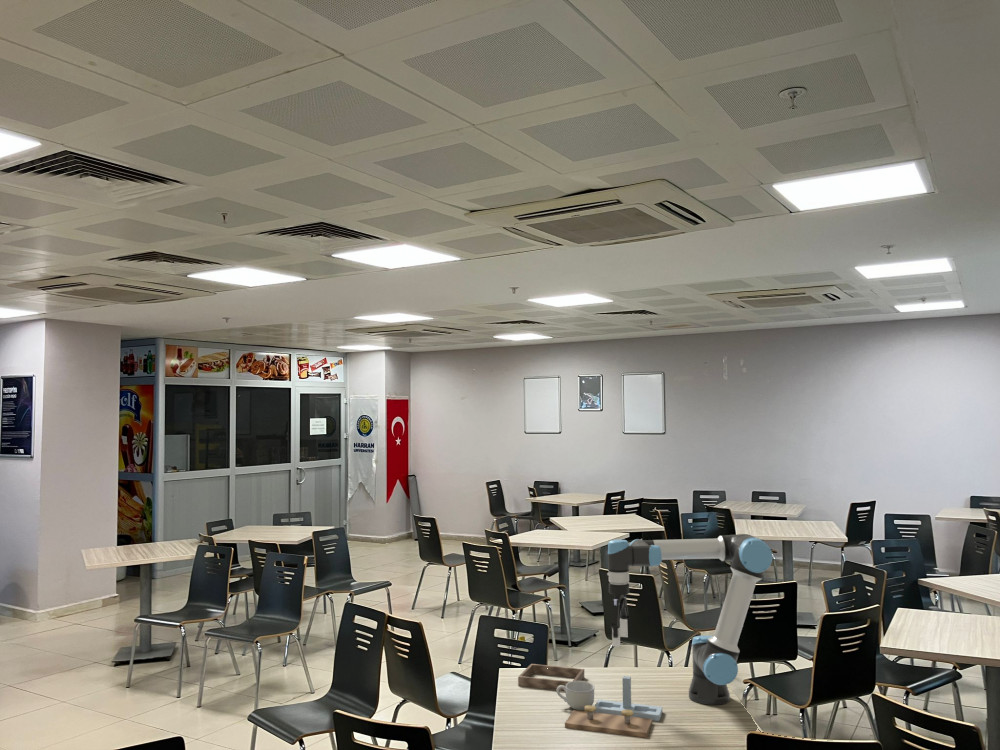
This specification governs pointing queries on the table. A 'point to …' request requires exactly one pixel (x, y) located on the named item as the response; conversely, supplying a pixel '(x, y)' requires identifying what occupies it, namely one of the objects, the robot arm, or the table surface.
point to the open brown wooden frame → (529, 681)
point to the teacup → (578, 694)
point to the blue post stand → (628, 705)
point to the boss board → (609, 722)
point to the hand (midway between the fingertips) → (620, 641)
